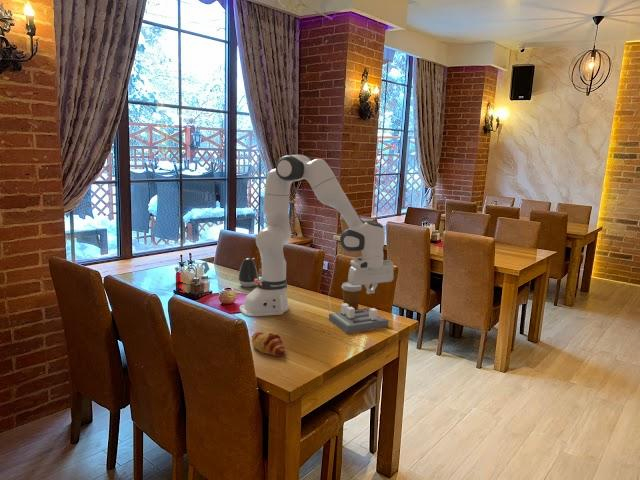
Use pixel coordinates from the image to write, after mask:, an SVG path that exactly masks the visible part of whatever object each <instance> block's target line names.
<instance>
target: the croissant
mask: <svg viewBox="0 0 640 480" xmlns="http://www.w3.org/2000/svg"><path fill="white" fill-rule="evenodd" d="M251 343H252V346H253V349H254V350H257V351H259V352H260V353H262V354H267V355H271V356H274V357H281V356H283V355H284V354H285V352H286V350H285V347H284V345H283V341H282V338H281V336H280V335H279V334H278V333H276V332H272V331H271V332H266V331H260V332H257V331H256V332H253V334H252V335H251Z"/></svg>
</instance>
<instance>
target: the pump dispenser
mask: <svg viewBox="0 0 640 480" xmlns="http://www.w3.org/2000/svg"><path fill="white" fill-rule="evenodd" d="M255 260H256V258H255V257H253V258H250V257H246V258H244V259H243V261H242V262H241V265H240V268H239V272H238V281H239V283H240V285H241V286H242V287H244V288H251V287H255V285H257V284H256V283H255V282H254V281H255V279H258V280H259V275H258V270H257V269H258V268H257V266H256V264H255Z"/></svg>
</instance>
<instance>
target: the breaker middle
mask: <svg viewBox="0 0 640 480" xmlns="http://www.w3.org/2000/svg"><path fill="white" fill-rule="evenodd" d="M346 316H347V317H348V318H349V319H350V318H354V317H355V309H354V308H353V307H347V311H346Z"/></svg>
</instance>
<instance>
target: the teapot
mask: <svg viewBox="0 0 640 480" xmlns="http://www.w3.org/2000/svg"><path fill="white" fill-rule="evenodd" d="M192 261H193V263H194V264H198V263H199V264H202V266H203V269H204V273H205V274H207V272H209V270H210V266H209V264H208V262H207V261H205V260H204V261H202V262H199V261H196V260H195V259H192ZM183 262H184V263H185V264H184V265H185V266H187V265H188V262H189V261H186V260H183ZM174 269H175V272H176V273H177V271H178V270H179V269H180V268H179V266H176V267H174Z"/></svg>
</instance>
